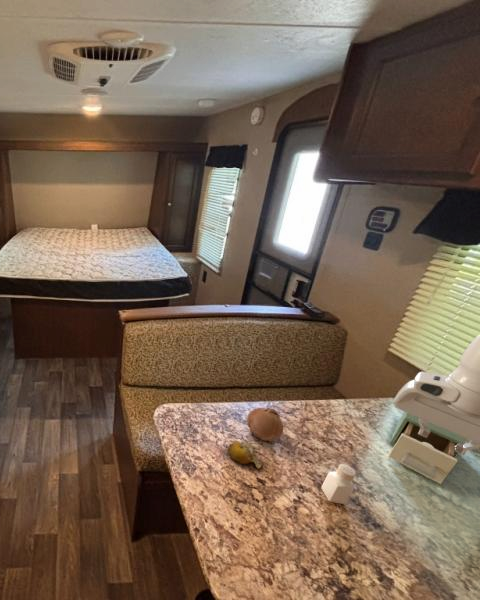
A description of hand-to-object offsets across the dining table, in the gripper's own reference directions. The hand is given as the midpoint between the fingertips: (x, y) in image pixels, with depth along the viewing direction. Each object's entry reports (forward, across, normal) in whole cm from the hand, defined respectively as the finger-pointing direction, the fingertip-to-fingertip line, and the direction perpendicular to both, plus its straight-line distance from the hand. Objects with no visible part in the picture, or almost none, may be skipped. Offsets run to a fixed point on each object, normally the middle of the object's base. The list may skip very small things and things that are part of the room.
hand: (439, 443), depth 73 cm
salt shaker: (+17, +12, +17) cm, 27 cm away
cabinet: (+17, 0, -25) cm, 30 cm away
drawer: (+16, 0, -14) cm, 21 cm away
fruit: (+17, +30, +23) cm, 42 cm away
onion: (+17, +31, +11) cm, 37 cm away
